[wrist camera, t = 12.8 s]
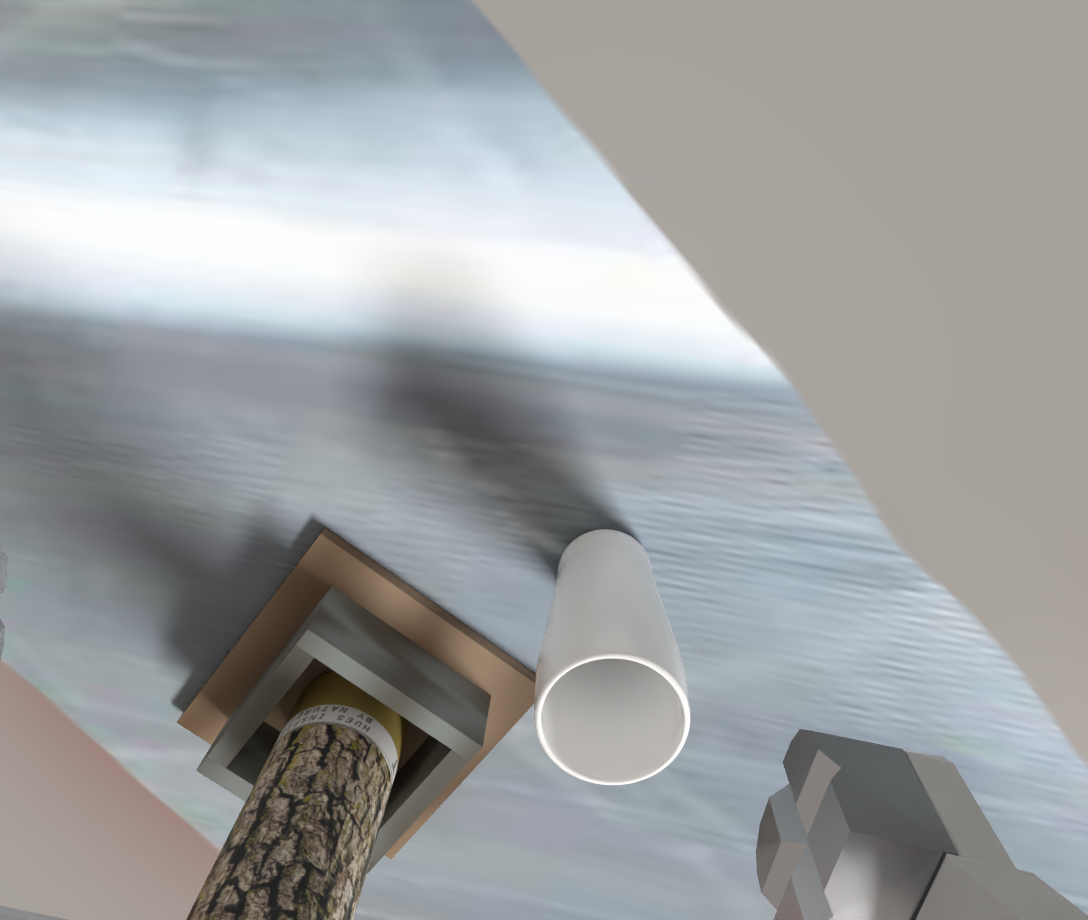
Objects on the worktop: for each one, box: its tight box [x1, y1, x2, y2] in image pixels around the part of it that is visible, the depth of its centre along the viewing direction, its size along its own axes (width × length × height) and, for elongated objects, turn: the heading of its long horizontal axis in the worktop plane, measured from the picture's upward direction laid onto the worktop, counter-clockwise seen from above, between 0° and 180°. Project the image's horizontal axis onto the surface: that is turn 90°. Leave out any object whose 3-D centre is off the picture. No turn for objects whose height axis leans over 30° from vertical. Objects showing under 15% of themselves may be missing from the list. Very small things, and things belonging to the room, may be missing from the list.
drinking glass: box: [534, 529, 690, 785], centre depth 47 cm, size 7×7×15 cm
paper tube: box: [186, 671, 408, 920], centre depth 45 cm, size 7×7×25 cm
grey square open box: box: [177, 527, 536, 875], centre depth 55 cm, size 16×16×6 cm
